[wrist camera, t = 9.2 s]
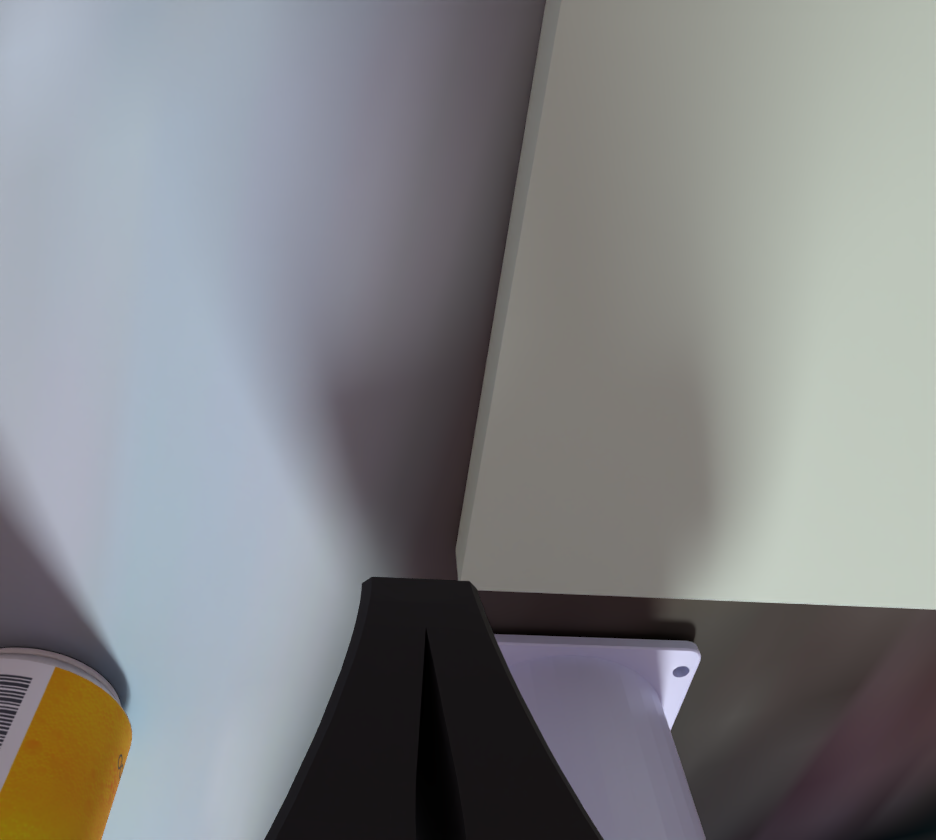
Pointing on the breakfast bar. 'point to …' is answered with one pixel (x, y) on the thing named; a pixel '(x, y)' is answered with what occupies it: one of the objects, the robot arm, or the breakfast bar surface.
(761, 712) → the breakfast bar surface
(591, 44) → the hole plate
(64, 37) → the breakfast bar surface
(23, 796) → the beer can
